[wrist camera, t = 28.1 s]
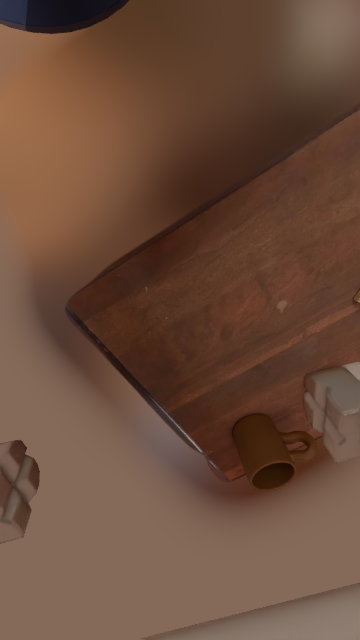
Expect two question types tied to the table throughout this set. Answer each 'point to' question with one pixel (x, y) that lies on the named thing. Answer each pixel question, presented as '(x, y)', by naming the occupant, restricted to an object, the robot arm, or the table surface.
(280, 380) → the table surface
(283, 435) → the mug
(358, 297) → the board
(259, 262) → the table surface
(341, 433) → the robot arm
